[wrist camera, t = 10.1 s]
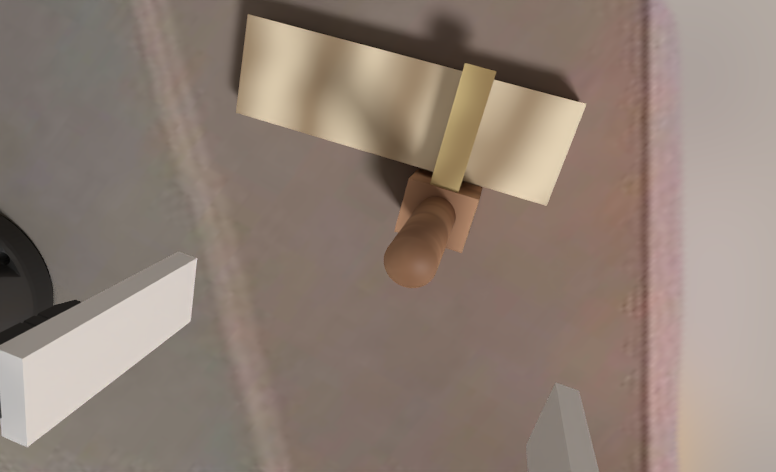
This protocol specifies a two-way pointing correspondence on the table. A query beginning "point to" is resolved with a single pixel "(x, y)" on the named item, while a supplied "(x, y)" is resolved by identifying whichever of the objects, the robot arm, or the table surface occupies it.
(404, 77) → the board
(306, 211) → the table surface
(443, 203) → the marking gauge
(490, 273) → the table surface
